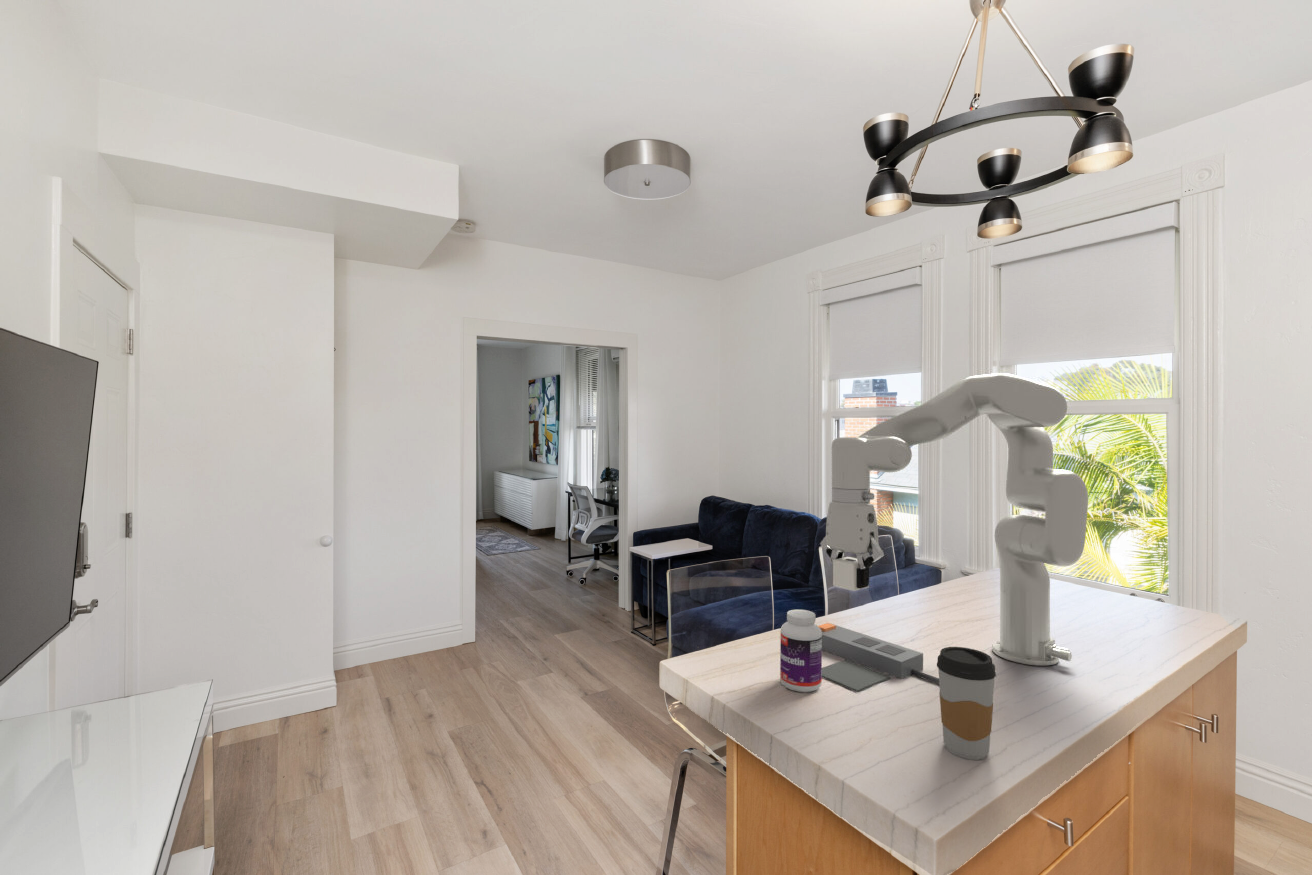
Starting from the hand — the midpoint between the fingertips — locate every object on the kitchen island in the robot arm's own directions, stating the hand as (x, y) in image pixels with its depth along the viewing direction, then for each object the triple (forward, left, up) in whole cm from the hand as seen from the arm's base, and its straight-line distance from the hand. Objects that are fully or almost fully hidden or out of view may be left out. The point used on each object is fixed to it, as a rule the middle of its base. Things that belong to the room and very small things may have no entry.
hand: (850, 583), depth 119 cm
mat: (0, 0, -19) cm, 19 cm away
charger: (0, 0, -1) cm, 1 cm away
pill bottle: (+3, +12, -19) cm, 23 cm away
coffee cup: (-28, +9, -19) cm, 35 cm away
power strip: (-1, -11, -19) cm, 22 cm away
